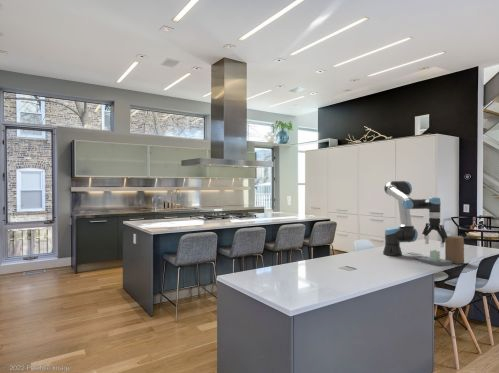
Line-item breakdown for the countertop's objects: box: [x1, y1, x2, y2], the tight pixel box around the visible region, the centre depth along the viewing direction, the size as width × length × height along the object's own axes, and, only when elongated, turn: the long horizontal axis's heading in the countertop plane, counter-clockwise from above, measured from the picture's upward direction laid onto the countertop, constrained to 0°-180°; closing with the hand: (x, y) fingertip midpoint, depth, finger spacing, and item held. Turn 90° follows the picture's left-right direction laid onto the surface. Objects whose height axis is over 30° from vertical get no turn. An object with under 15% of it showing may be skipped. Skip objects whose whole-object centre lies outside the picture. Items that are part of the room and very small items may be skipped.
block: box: [444, 235, 465, 265], centre depth 263 cm, size 10×10×20 cm
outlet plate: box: [417, 256, 453, 267], centre depth 262 cm, size 18×14×2 cm
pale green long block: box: [429, 249, 441, 261], centre depth 259 cm, size 4×4×10 cm
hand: (434, 245), depth 260 cm, fingers open, 13 cm apart
